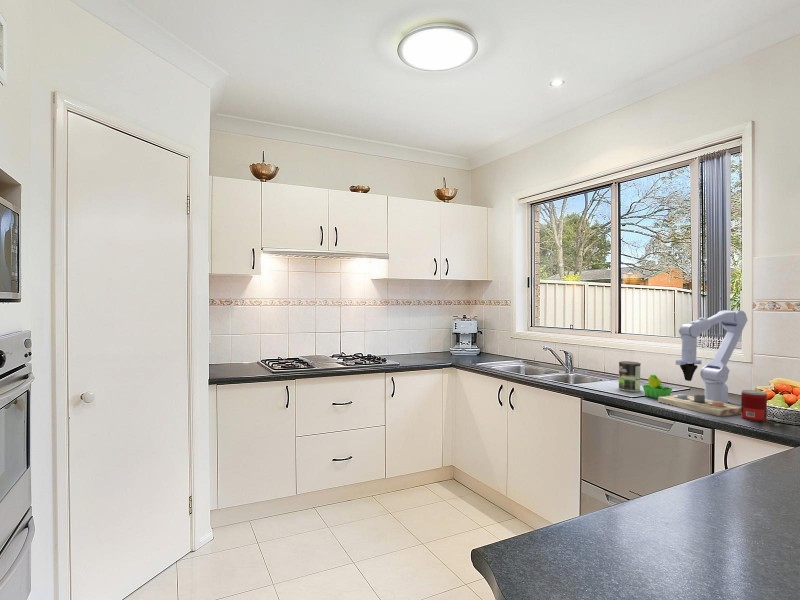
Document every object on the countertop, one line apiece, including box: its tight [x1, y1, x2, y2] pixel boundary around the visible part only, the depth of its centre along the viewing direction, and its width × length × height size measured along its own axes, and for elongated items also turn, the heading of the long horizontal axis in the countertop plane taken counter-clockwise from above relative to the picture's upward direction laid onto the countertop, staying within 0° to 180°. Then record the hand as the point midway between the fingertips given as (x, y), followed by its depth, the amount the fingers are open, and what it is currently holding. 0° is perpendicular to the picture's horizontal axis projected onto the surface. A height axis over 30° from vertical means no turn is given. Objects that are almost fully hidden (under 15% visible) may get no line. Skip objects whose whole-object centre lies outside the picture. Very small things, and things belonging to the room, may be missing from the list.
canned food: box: [740, 389, 768, 423], centre depth 187 cm, size 8×8×11 cm
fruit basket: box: [642, 373, 674, 399], centre depth 228 cm, size 11×9×11 cm
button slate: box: [676, 393, 689, 400], centre depth 214 cm, size 4×4×4 cm
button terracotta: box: [712, 401, 724, 408], centre depth 200 cm, size 4×4×4 cm
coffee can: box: [618, 360, 642, 392], centre depth 247 cm, size 10×10×14 cm
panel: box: [657, 394, 741, 417], centre depth 207 cm, size 16×28×2 cm, turn 23°
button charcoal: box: [693, 393, 705, 404], centre depth 207 cm, size 4×4×4 cm
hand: (688, 380), depth 214 cm, fingers closed
